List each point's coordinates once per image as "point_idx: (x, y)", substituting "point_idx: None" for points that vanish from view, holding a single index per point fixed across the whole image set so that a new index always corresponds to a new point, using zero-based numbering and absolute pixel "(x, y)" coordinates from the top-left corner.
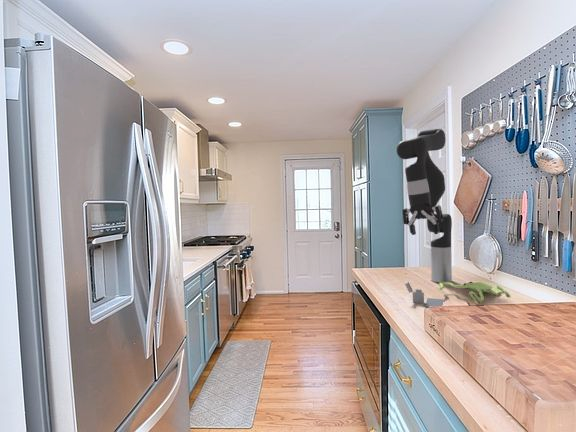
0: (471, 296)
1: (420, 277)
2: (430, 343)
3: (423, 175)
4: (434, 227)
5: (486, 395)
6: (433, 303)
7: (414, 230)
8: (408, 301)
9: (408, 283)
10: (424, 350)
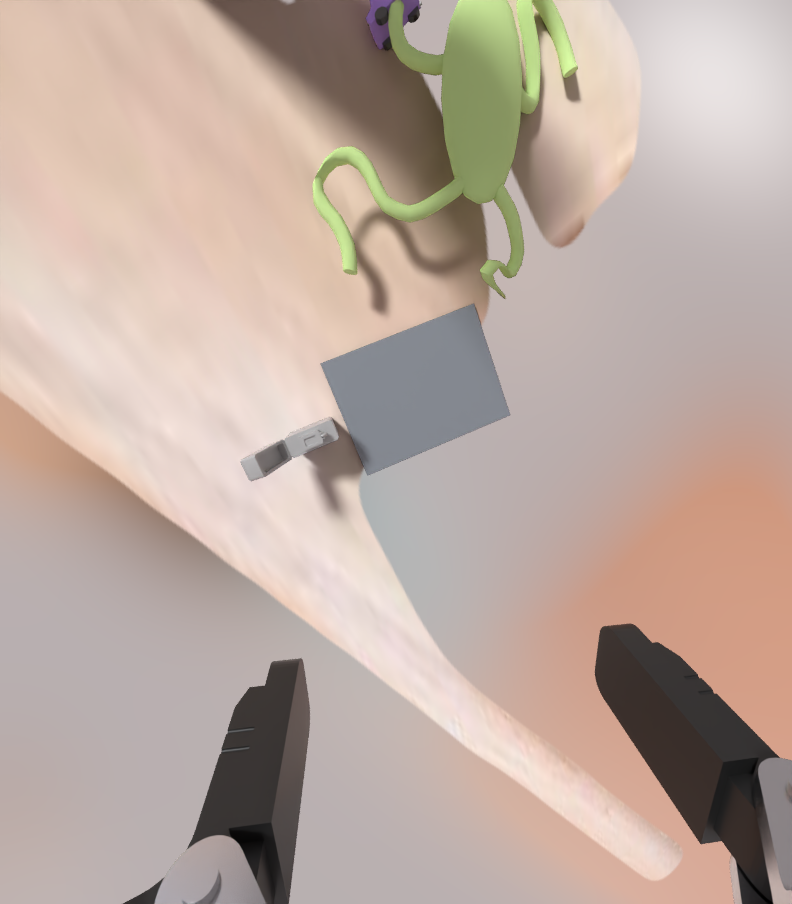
0: (488, 284)
1: None
2: (505, 725)
3: None
4: (679, 782)
5: (645, 821)
6: (376, 424)
7: (295, 732)
8: None
9: (258, 455)
10: (509, 766)
